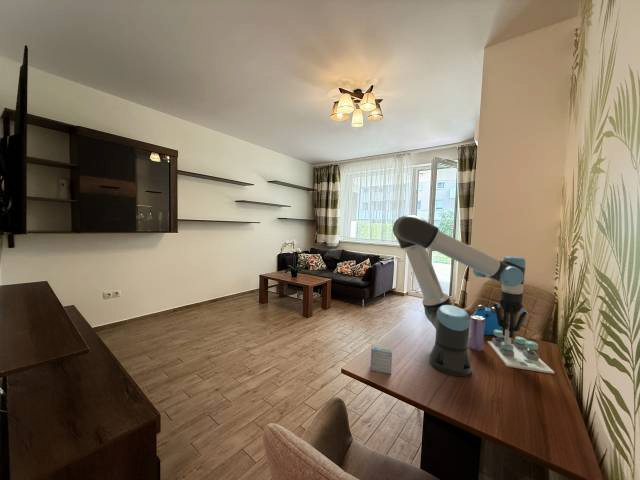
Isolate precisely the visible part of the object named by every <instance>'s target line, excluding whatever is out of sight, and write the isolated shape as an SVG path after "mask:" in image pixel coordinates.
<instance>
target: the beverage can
mask: <svg viewBox="0 0 640 480" xmlns="http://www.w3.org/2000/svg"><path fill="white" fill-rule="evenodd" d="M469 321H470V325H469V334H468V346H467V347H468V348H469V349H470V350H472V351H476V352H482V350H484V349H483V348H484V340H485V339H484V337H485V334H484V328H485V318H483V317H481V316H477V315H474V314H472V315H470V316H469Z"/></svg>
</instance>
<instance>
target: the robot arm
mask: <svg viewBox="0 0 640 480" xmlns="http://www.w3.org/2000/svg"><path fill="white" fill-rule="evenodd" d="M392 233H393V235H394V236H395V238H396V239H397V242H398V244H399V248H400V249H401V250H403V251H405V253H406V255H407V258H408V260H409V264H410V266H411V268H412V270H413V273H414V277H415V279H416V281H417V283H418V286H419V288H420V291H421V293H422V296H423V299H422V301H421V302H422V303H421V304H422V306H423V308H424V315H425V316H426V319H427V320H428V321H429V322H430V323H431V324H432V326H433V327H434V329H435V339H434V340H435V342H434V344H433V347H432V350H431V352H430V354H429V363H430V365H431V366H432V368H434V369H436V370H437V371H439V372H441V373H444V374H446V375H449V376H453V377H465V376H469V375H470V374H471V373H472V364H471V360H470V356H469V353H468V347H469V346H468V338H469V325H470V315H469V313H468V312H467V311H466V310H465V309H463V308H460V307H459V306H455V305H453V304H452V301H451V300H450V297H449V295H448V294H447V293H444V292H443V289H442V285H441V283H440V281H439V279H438V276H437V274H436V271H435V269H434V266H433V264H432V261H431V258H430V255H429V253H428V250H427V249H431V250H434V251H436V252H437V253H439V254H442V255H443V256H446V257H448V258H450V259H451V260H454V261H456V262H458V263H460V264H462V265H464V266H466V267H468V268H470V269H471V270H472V272H473V274H474V276H476V277H479V278H488V279H490V280H493V281H496V282H498V283H500V284H501V290H502V291H500V300H499V302H497V303H493V305H492V306H493V307H495V309H496V315H497V320H498V325H499V326H501V329H502V331H503V335H504V336H505V337H503V338H504V340H503V341H504V344H506V345H509V344H512V339H513V338H515V337H514V336H515V332H519V331H520V330H521V328H522V327H523V323H524V321H525V319H526V317H527V315H529V313H530V312H529V311H528V310H526V309H524V306H523V297H524V296H523V293H524V282H525V274H526V273H525V272H526V259H525V257H524V258H523V257H521V256H513V255H512V256H504V257H503V260H500V259H497V258H494V257H493V256H491V255H489V254H487V253H485V252H484V251H483V252H482V251H480V249H476V248H475V247H472V246H471V245H468V244H466V243H464V242H463V241H460V240H458V239H457V238H454V237H452V236H451V235H448V234H446V233H444V232H442V231H440V229H439V227H437V226H436V225H434V224H432V223H430V222H428V221H427V220H425V219H424V218H422V217H420V216H417V215H413V214H412V215H411V214H410V215H409V214H408V215H403V216H401V217H398V218H397V219H396V220H395V222H394V223H393V226H392ZM502 310H503V311H502ZM518 313H519V314H520V315H519V317H518V319H517V315H518Z"/></svg>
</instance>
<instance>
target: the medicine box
mask: <svg viewBox="0 0 640 480" xmlns="http://www.w3.org/2000/svg"><path fill="white" fill-rule="evenodd" d="M392 359H393V347H389V346H385V345H376V344H375V345H374V344H372V345H371V348H370V368H369V371H372V372H377V373H378V372H379V373H383V374H390V375H391V374H392V362H393V360H392Z"/></svg>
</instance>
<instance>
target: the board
mask: <svg viewBox="0 0 640 480" xmlns="http://www.w3.org/2000/svg"><path fill="white" fill-rule="evenodd" d="M501 342H504V340H503V338H501V340H497V337H496V338H495V337H492V338H491V341H490V340H487V344H488V345H489V346H490V348H491V349H493V351H494V352H495V354H496V355H497V356H498V357H499V358H500V359H501V361H502V363H504V364H505V366H506V367H508V368H515V369H521V370H526V371H527V370H528V371H533V372H534V371H535V372H541V373H546V374H554V375H555V371H554V370H553V369H551V367H550V366H548V364H546V363H545V362H544V361H543V360H542V359H541V358H540V356H539V353H538V354H537V353H536V351H534V350H533V353H531V352H529V348H527V347H526V346H525V345H521V344H519V343H517V342H515V340H513V343H511V344H512V345H513V351H506V350H505V349H503V348H501Z"/></svg>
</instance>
